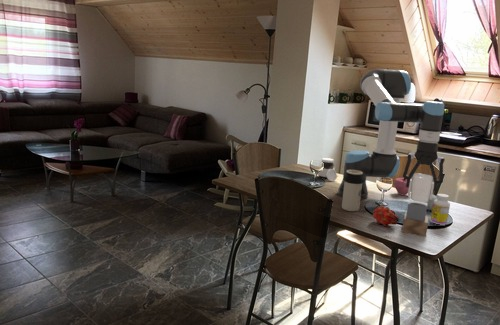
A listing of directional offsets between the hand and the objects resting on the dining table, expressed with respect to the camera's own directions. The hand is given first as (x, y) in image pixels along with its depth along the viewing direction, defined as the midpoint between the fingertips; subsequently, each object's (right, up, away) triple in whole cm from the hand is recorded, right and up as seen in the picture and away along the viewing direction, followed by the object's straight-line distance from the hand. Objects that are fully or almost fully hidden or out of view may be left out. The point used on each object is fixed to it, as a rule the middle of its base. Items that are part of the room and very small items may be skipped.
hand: (419, 196), depth 169 cm
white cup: (0, -1, 0) cm, 1 cm away
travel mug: (-22, -8, +26) cm, 35 cm away
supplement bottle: (+14, -13, +15) cm, 24 cm away
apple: (+13, -3, +57) cm, 58 cm away
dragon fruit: (-11, -13, +9) cm, 19 cm away
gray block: (-1, -9, +2) cm, 9 cm away
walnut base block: (-1, -14, +3) cm, 15 cm away
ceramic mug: (+20, -9, +33) cm, 40 cm away
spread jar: (-22, +4, +80) cm, 83 cm away
